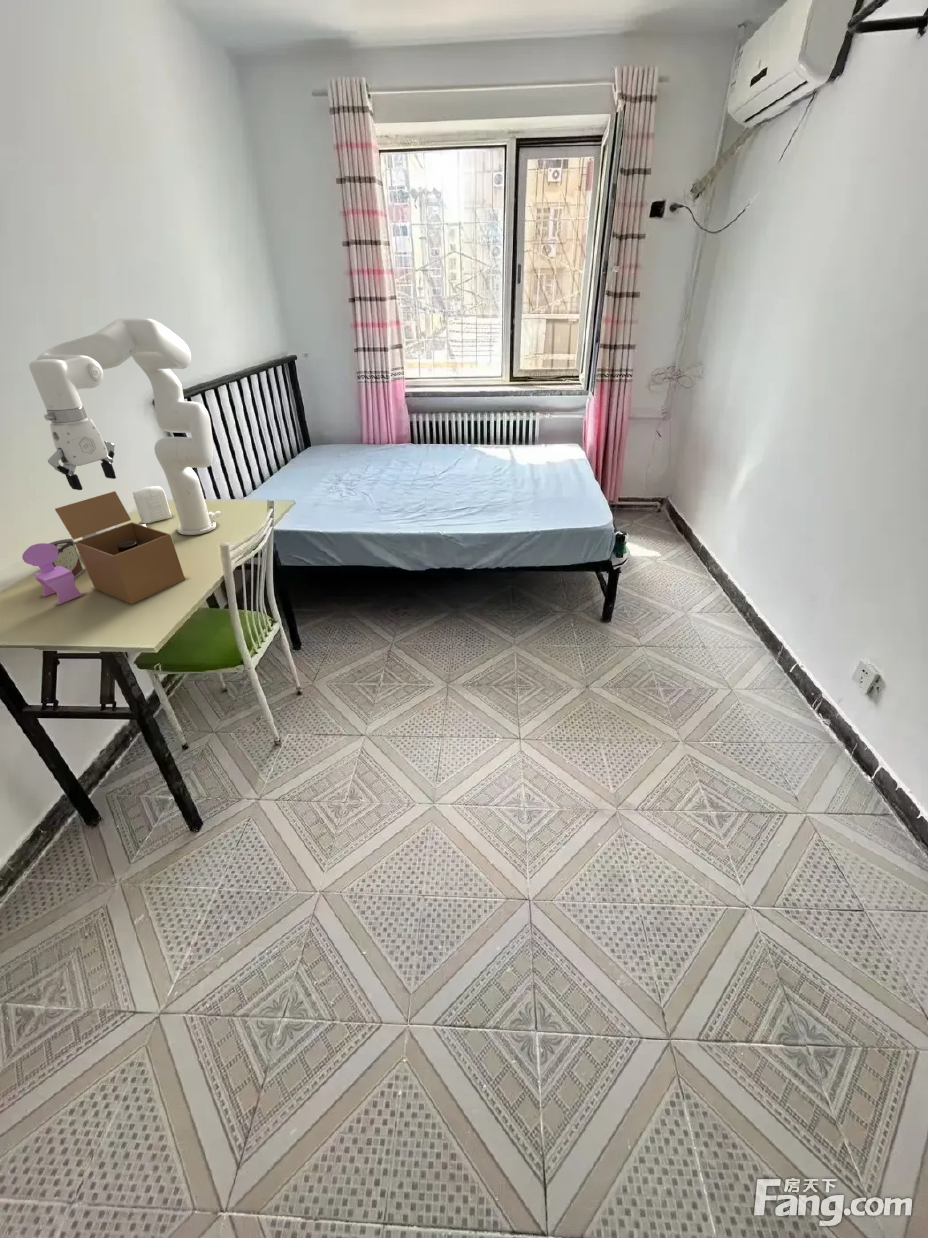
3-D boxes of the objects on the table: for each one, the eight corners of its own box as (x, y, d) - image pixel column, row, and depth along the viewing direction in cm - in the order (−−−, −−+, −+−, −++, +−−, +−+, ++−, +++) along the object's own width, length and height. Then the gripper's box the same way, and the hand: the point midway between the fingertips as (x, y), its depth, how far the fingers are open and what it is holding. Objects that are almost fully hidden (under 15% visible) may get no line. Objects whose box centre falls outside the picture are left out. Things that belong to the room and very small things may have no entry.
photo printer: (169, 514, 197) (159, 482, 190) (174, 517, 194) (163, 485, 187) (140, 521, 191) (128, 489, 184) (144, 525, 188) (132, 491, 181)
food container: (65, 568, 159) (51, 538, 154) (86, 568, 160) (73, 537, 154) (41, 588, 149) (25, 556, 143) (63, 587, 149) (48, 556, 144)
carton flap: (73, 539, 141) (73, 539, 141) (131, 519, 153) (130, 520, 153) (54, 508, 138) (54, 508, 138) (115, 491, 149) (114, 491, 150)
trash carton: (94, 588, 149) (74, 542, 141) (148, 565, 161) (132, 522, 153) (132, 604, 142) (113, 556, 134) (185, 579, 153) (170, 534, 146)
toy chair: (55, 606, 140) (29, 556, 132) (39, 598, 144) (14, 548, 136) (87, 593, 146) (65, 544, 138) (71, 585, 150) (48, 537, 142)
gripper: (43, 424, 120) (73, 495, 129) (110, 409, 134) (133, 475, 143) (21, 421, 122) (52, 492, 132) (89, 407, 136) (113, 472, 145)
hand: (94, 483), depth 137 cm, fingers open, 9 cm apart
